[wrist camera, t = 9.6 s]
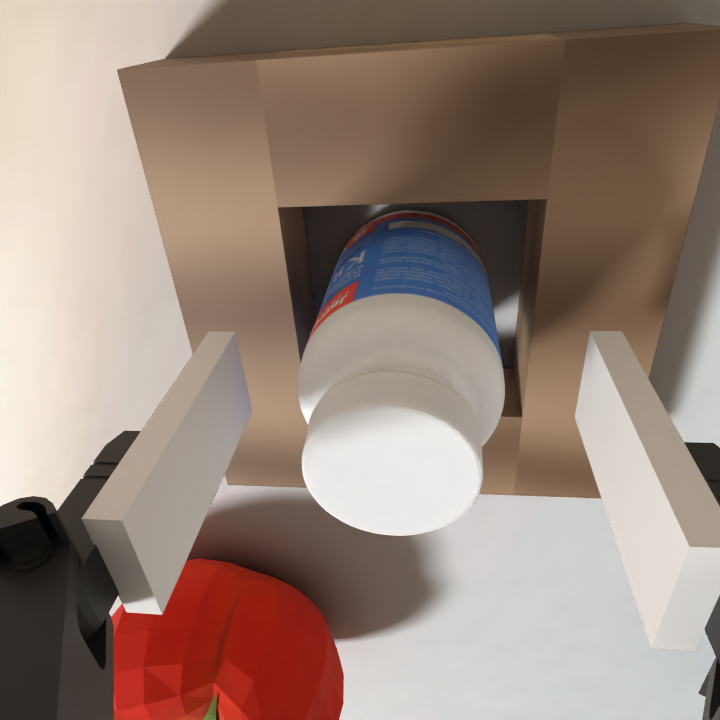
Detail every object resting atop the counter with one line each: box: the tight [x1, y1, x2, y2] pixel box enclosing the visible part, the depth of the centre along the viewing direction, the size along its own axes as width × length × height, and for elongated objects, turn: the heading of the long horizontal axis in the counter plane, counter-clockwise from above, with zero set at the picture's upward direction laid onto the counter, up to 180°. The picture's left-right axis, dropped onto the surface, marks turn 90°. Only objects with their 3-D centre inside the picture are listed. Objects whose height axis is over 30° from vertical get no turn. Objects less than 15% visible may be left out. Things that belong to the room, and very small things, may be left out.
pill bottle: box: [298, 210, 505, 536], centre depth 16 cm, size 6×5×10 cm
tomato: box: [111, 558, 344, 720], centre depth 29 cm, size 13×12×8 cm
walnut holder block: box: [117, 23, 720, 498], centre depth 19 cm, size 15×15×3 cm
